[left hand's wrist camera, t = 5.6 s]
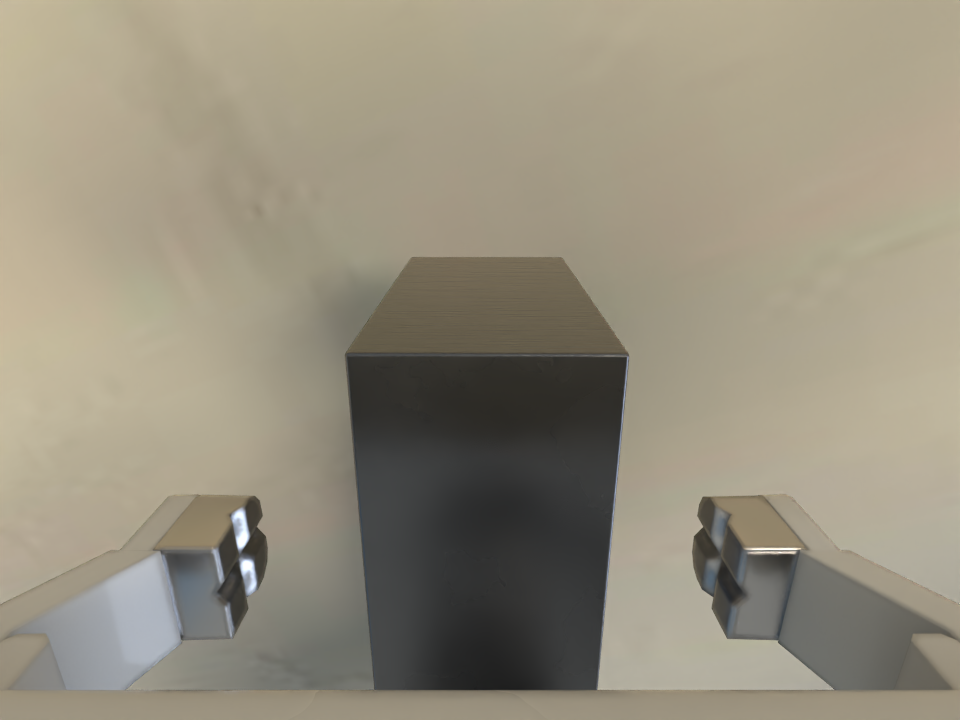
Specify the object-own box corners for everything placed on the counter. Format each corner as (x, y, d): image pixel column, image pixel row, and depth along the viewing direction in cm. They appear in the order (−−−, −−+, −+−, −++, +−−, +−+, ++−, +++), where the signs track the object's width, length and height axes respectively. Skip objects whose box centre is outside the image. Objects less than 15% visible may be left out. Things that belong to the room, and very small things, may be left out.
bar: (410, 257, 19) (343, 353, 10) (562, 257, 19) (630, 353, 10) (433, 792, 28) (409, 1089, 19) (536, 793, 28) (559, 1092, 19)
